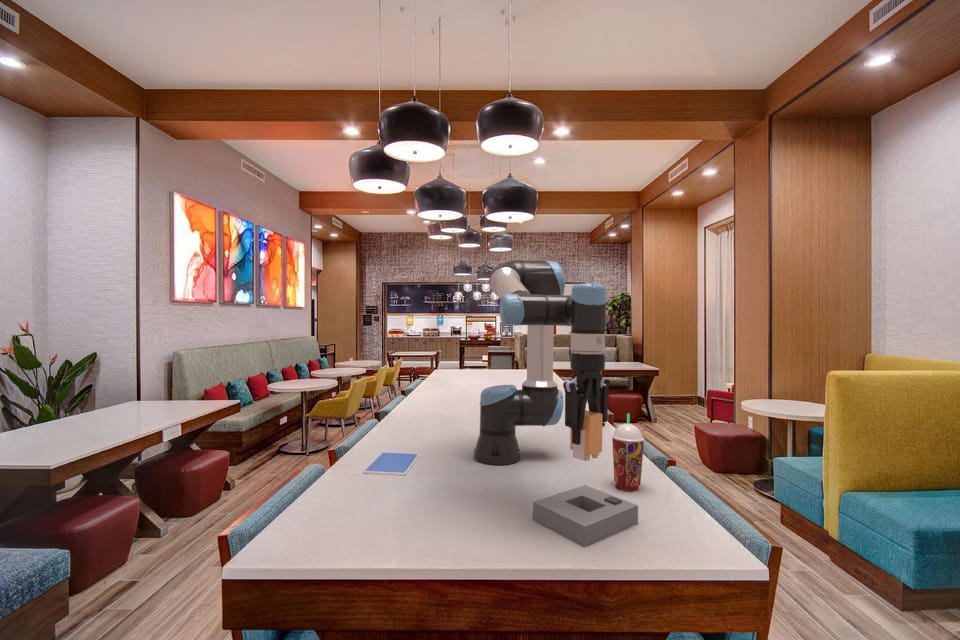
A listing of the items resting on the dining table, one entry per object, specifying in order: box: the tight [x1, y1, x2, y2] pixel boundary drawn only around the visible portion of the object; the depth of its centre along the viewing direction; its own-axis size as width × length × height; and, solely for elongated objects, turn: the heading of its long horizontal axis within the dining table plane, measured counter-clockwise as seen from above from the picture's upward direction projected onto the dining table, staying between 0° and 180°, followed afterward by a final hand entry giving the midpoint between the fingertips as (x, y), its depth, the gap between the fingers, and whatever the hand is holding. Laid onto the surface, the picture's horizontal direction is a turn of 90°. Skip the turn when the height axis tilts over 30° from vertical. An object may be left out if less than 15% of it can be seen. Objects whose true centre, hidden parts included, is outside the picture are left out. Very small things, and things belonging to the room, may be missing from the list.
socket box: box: [532, 484, 639, 548], centre depth 101 cm, size 15×18×4 cm
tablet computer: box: [363, 452, 420, 477], centre depth 138 cm, size 19×13×1 cm, turn 176°
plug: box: [569, 409, 603, 462], centre depth 101 cm, size 5×4×10 cm
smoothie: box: [611, 413, 645, 492], centre depth 122 cm, size 8×8×20 cm
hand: (586, 456), depth 101 cm, fingers closed on plug, 4 cm apart
